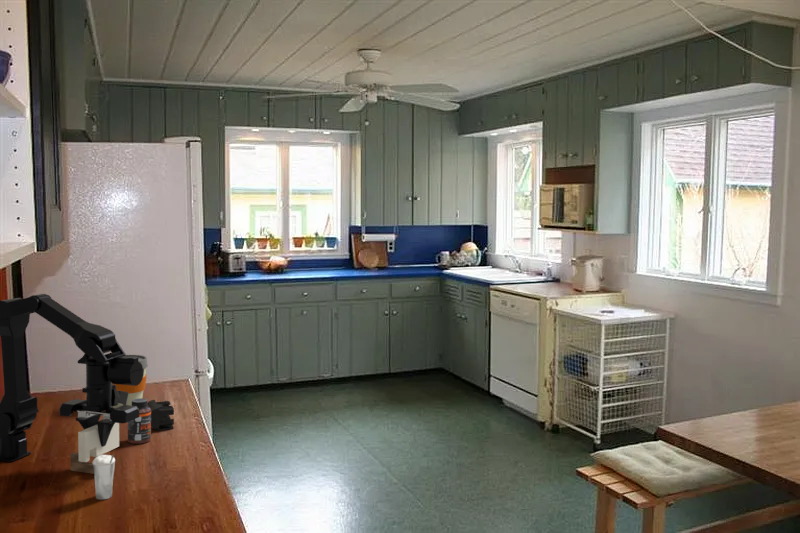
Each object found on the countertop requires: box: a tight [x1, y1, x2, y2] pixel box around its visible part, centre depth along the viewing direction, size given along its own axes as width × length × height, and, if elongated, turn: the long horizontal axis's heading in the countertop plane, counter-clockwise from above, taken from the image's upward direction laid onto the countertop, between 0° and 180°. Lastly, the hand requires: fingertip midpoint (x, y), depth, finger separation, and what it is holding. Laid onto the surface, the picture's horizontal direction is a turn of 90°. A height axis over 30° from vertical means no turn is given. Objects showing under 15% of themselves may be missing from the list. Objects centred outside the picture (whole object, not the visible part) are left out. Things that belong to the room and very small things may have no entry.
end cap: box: [147, 399, 175, 432], centre depth 204 cm, size 10×7×7 cm
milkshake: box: [91, 454, 116, 501], centre depth 154 cm, size 4×5×10 cm
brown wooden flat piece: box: [69, 452, 98, 475], centre depth 168 cm, size 10×1×4 cm, turn 74°
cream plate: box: [77, 423, 120, 463], centre depth 171 cm, size 12×2×7 cm, turn 164°
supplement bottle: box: [127, 397, 152, 445], centre depth 191 cm, size 6×6×11 cm
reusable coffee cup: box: [112, 354, 148, 408], centre depth 224 cm, size 13×13×15 cm
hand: (99, 445), depth 171 cm, fingers closed on cream plate, 2 cm apart
